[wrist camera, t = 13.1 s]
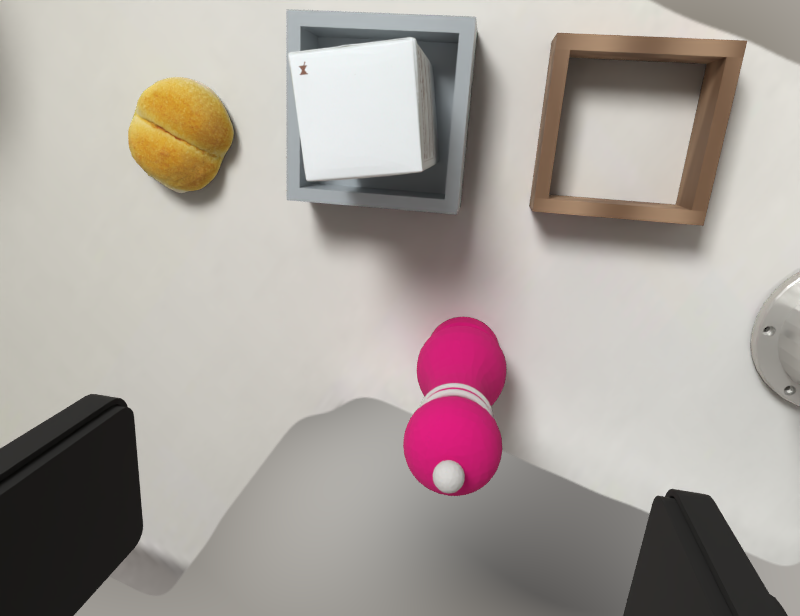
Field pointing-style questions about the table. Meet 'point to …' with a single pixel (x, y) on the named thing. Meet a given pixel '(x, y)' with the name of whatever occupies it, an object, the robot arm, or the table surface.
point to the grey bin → (453, 74)
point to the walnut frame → (705, 135)
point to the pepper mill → (457, 409)
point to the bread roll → (180, 133)
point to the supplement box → (365, 110)
